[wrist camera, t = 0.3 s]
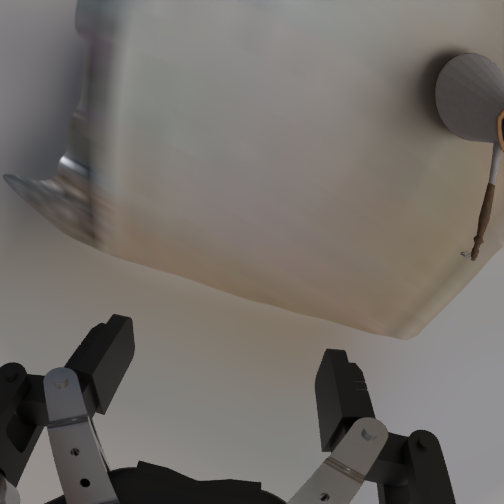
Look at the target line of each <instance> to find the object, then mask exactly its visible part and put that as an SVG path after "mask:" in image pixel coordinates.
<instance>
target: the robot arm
mask: <svg viewBox="0 0 504 504" xmlns="http://www.w3.org/2000/svg"><path fill="white" fill-rule="evenodd" d="M134 350H135V343H134V333H133V323H132V319H131V318H130V317H126V316H121V315H117V314H113V315H112V317H111V318H110V319H109V321H108V322H107V323H106V324H104V323H100V324H98V325H97V326H95V327H94V328H92V329H91V330H90V332H89V333H88V335H87V336H86V338H84V340H83V341H82V343H81V345H79V347H78V348H77V349H76V351H75V352H74V353H73V355H72V356H71V358H70V359H69V360H68V362H67V363H66V365H65V366H64V367H59V368H55V369H52V370H50V371H49V372H48V373H47V374H46V375H45V376H42V375H31V374H27V372H26V370H25V368H24V367H23V366H22V365H21V364H19V363H7V364H5V365H3V366H2V367H0V504H20V495H19V493H18V491H17V489H16V487H17V485H18V482H19V480H20V477H21V475H22V473H23V471H24V468H25V466H26V464H27V462H28V460H29V457H30V455H31V453H32V451H33V449H34V446H35V444H36V443H37V440H38V438H39V436H40V434H41V432H42V430H43V428H44V426H47V430H48V435H49V439H50V444H51V448H52V453H53V457H54V461H55V464H56V468H57V472H58V476H59V479H60V483H61V486H62V489H63V492H64V495H62V496H60V497H58V498H56V499H53V500H51V501H49V502H47V503H45V504H349V503H350V502H351V500H352V499H353V497H354V496H355V495H356V493H357V492H358V490H359V489H360V487H361V486H362V484H363V482H364V480H367V481H371V482H376V483H377V488H378V497H379V504H456V503H455V498H454V494H453V491H452V486H451V482H450V479H449V475H448V471H447V467H446V464H445V460H444V457H443V453H442V450H441V447H440V444H439V441H438V439H437V437H435V435H434V434H432V433H431V432H429V431H426V430H417V431H414V432H413V433H412V434H411V435H410V436H409V437H406V436H401V435H397V434H393V433H390V432H388V430H387V428H386V427H385V425H384V424H383V423H382V422H380V421H379V420H377V419H376V418H375V414H374V411H373V407H372V403H371V400H370V397H369V393H368V391H367V386H366V383H365V379H364V376H363V372H362V371H361V369H360V368H359V367H358V366H357V365H356V363H349V362H348V359H347V354H346V352H345V350H337V349H326V351H325V353H324V356H323V359H322V361H321V364H320V367H319V370H318V372H317V375H316V379H315V394H316V402H317V410H318V419H319V428H320V438H321V447H322V452H331V455H330V456H329V457H328V458H327V459H326V460H325V461H324V462H323V463H322V464H321V465H320V467H319V468H318V469H317V470H316V471H315V472H314V474H313V475H312V476H311V477H310V478H309V479H308V480H307V482H306V483H305V484H304V485H303V486H302V487H301V488H300V489H299V491H298V492H297V493H296V494H295V495H294V496H293V497H292V498H291V499H290V500H289V501H288V502H287V503H286V502H285V501H284V500H282V499H281V498H279V497H278V496H275V495H274V494H271V493H269V492H267V491H264V490H261V482H251V481H242V480H233V479H226V480H211V481H197V480H194V479H192V478H189V477H187V476H184V475H182V474H180V473H178V472H176V471H173V470H171V469H169V468H166V467H162V466H157V465H154V464H150V463H146V462H143V461H139V462H138V465H137V467H127V468H119V469H116V470H112V471H111V468H110V466H109V464H108V462H107V459H106V457H105V454H104V451H103V449H102V446H101V444H100V441H99V438H98V435H97V432H96V429H95V426H94V423H93V420H92V418H93V416H94V414H95V412H97V413H100V414H103V415H105V412H106V410H107V408H108V406H109V404H110V402H111V400H112V398H113V396H114V394H115V392H116V390H117V388H118V386H119V384H120V382H121V380H122V378H123V376H124V374H125V372H126V371H127V369H128V367H129V365H130V363H131V361H132V359H133V356H134Z"/></svg>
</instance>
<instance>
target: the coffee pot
mask: <svg viewBox="0 0 504 504" xmlns="http://www.w3.org/2000/svg"><path fill="white" fill-rule="evenodd" d="M435 98H436V106H437V109H438V112H439V115H440V117H441V119H442V121H443V122H444V124H445V126H446V127H447V128H448V129H449V130H450V131H451V132H452V133H453V134H455V135H456V136H458V137H460V138H462V139H465V140H470V141H477V142H488V143H494V145H493V154H492V163H491V170H490V177H489V183H488V185H487V189H486V193H485V197H484V201H483V205H482V208H481V212H480V216H479V222H478V230H477V235H476V236H475V237H474V242H475V244H474V247H473V249H472V252H471V254H470V253H467V252H461V255H463V256H464V257H467V258H470V259H471V260H473V261H475V259H477V255H478V253H479V247H480V245H481V244H482V243H483V238H482V237H483V235H484V232H485V230H486V227H487V225H488V222H489V219H490V213H491V208H492V202H493V196H494V189H495V180H496V175H497V170H498V164H499V158H500V152H501V149H502V151H503V152H504V74H503V73H502V71H501V70H500V69H499V68H498V66H497V65H496V64H495V63H494V62H492V61H491V60H489V59H488V58H487V57H485V56H482V55H479V54H473V53H465V54H462V55H459V56H456V57H454V58H453V59H451V60H450V61H449V62H447V63H446V64H445V66H444V67H443V69H442V70H441V71H440V73H439V76H438V79H437V81H436V88H435ZM464 254H468V255H471V257H469V256H466V255H464Z"/></svg>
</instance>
